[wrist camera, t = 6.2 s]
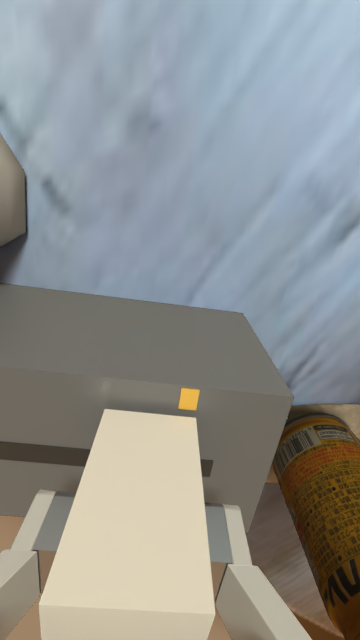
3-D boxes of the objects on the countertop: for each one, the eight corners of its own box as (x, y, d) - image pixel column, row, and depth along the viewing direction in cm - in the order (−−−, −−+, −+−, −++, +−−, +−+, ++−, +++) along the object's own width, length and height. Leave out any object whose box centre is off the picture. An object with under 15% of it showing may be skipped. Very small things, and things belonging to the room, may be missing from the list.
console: (-58, 381, 19) (-213, 501, 11) (-79, 273, 16) (-298, 336, 9) (220, 409, 20) (248, 534, 12) (242, 313, 17) (294, 398, 10)
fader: (99, 513, 11) (47, 728, 7) (104, 408, 10) (39, 604, 5) (176, 518, 12) (177, 730, 7) (195, 417, 10) (215, 614, 5)
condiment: (344, 480, 23) (508, 748, 12) (235, 481, 23) (294, 754, 11) (368, 402, 20) (612, 655, 9) (244, 402, 20) (333, 661, 9)
